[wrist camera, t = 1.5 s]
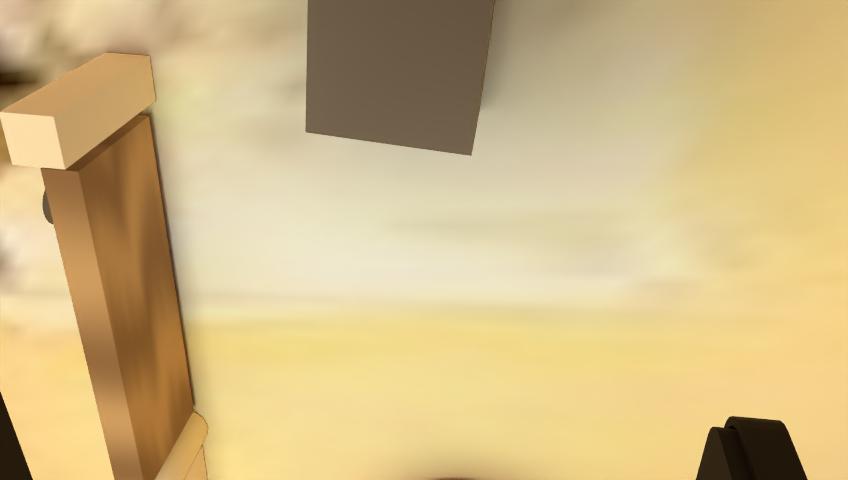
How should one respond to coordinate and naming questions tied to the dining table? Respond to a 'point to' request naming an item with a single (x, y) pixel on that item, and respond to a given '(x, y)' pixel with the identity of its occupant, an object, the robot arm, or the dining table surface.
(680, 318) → the dining table surface
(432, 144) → the doorstop
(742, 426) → the robot arm
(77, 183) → the door
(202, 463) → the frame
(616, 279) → the dining table surface
